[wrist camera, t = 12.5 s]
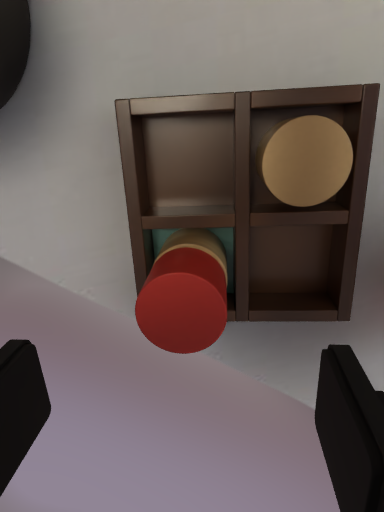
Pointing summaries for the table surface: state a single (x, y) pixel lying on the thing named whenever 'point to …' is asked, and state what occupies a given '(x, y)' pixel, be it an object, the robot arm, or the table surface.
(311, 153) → the disc
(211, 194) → the token board
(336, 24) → the table surface
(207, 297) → the cylinder
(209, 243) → the maple token
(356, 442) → the robot arm
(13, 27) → the jar
